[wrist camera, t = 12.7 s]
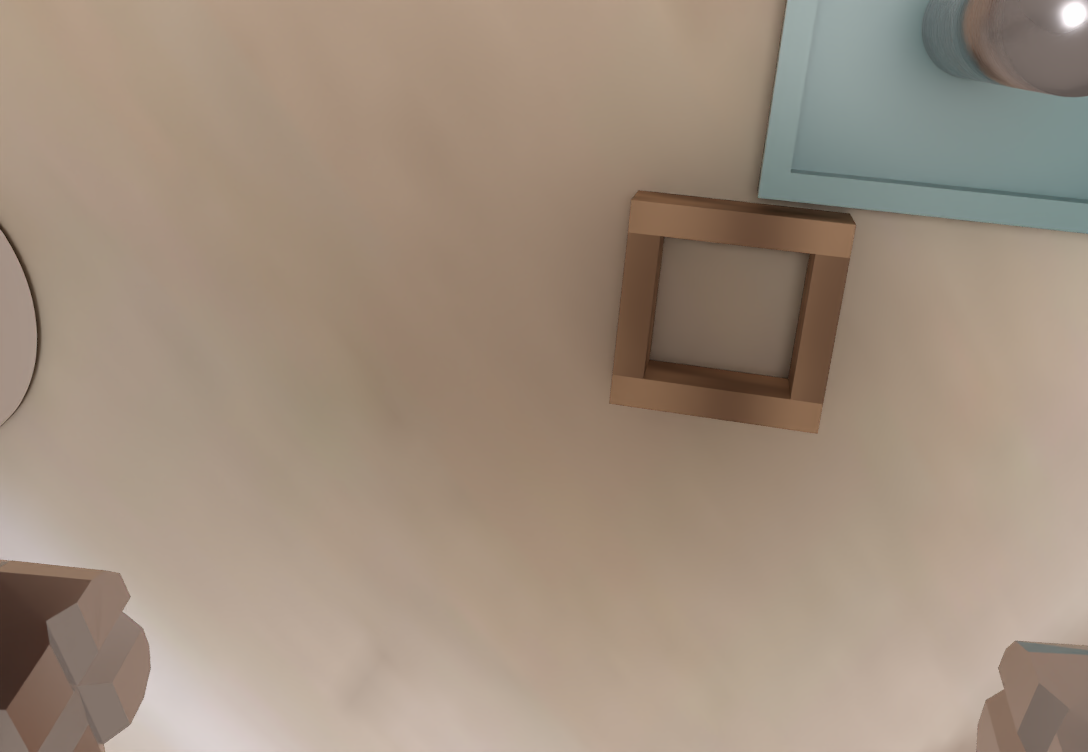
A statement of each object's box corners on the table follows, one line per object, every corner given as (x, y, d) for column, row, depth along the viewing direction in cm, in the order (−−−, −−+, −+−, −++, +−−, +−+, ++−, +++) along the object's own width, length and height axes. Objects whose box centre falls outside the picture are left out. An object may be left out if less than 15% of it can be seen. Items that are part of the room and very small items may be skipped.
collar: (617, 382, 41) (609, 403, 39) (638, 190, 39) (631, 199, 36) (813, 410, 40) (817, 433, 38) (849, 213, 37) (856, 224, 35)
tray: (757, 190, 38) (757, 197, 36) (816, -197, 33) (819, -211, 32) (1123, 229, 36) (1143, 239, 34) (1236, -178, 31) (1266, -192, 29)
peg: (912, 73, 35) (984, 89, 24) (933, -38, 34) (1021, -76, 22) (1020, 83, 34) (1148, 104, 23) (1046, -30, 33) (1194, -65, 22)
